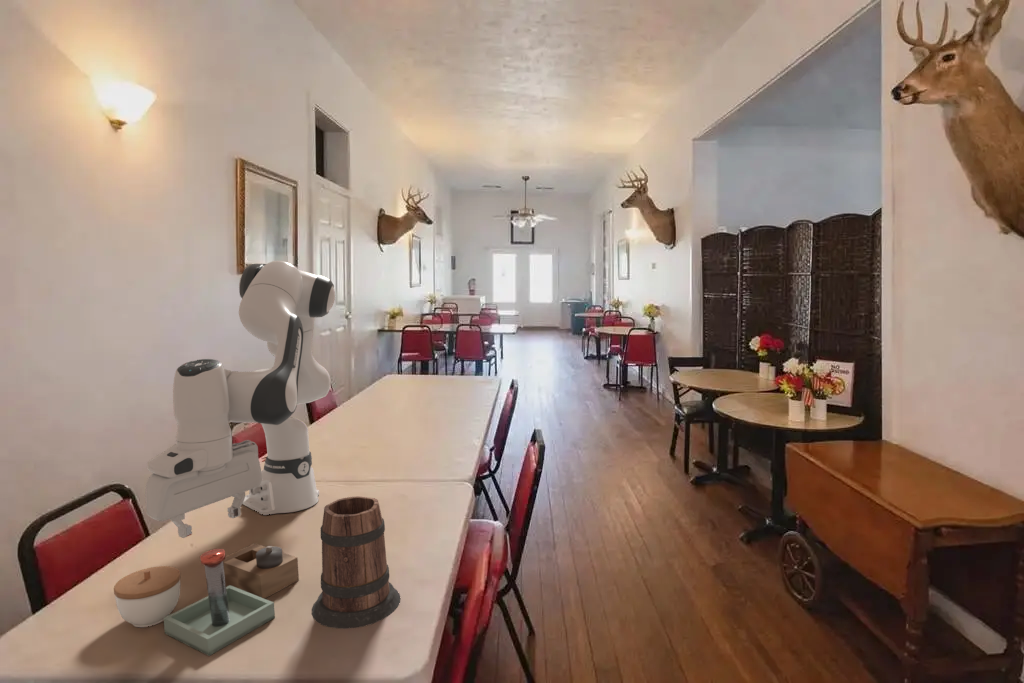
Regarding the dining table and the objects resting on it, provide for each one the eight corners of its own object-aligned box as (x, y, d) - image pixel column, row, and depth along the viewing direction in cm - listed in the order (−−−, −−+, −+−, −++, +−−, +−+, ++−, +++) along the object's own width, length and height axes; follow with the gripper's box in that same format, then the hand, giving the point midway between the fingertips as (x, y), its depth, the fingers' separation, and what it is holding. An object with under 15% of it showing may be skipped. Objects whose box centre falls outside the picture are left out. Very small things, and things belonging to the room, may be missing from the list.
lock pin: (204, 624, 111) (195, 556, 110) (224, 613, 115) (216, 547, 113) (217, 630, 109) (208, 560, 108) (237, 619, 113) (229, 551, 111)
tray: (164, 633, 110) (163, 617, 110) (231, 599, 121) (230, 585, 121) (209, 655, 103) (207, 639, 103) (274, 617, 114) (273, 602, 114)
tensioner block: (218, 582, 128) (215, 544, 127) (256, 564, 136) (253, 528, 135) (262, 599, 121) (259, 559, 120) (298, 580, 128) (296, 541, 127)
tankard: (409, 615, 114) (405, 512, 112) (315, 637, 108) (309, 529, 106) (384, 562, 136) (380, 475, 134) (304, 578, 129) (299, 486, 127)
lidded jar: (136, 604, 120) (132, 559, 119) (193, 601, 121) (189, 556, 120) (104, 636, 109) (99, 587, 108) (167, 632, 110) (162, 583, 109)
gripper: (246, 435, 119) (250, 503, 121) (136, 465, 102) (143, 543, 103) (267, 439, 116) (271, 509, 117) (157, 471, 98) (164, 552, 100)
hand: (210, 525), depth 110 cm, fingers open, 8 cm apart
